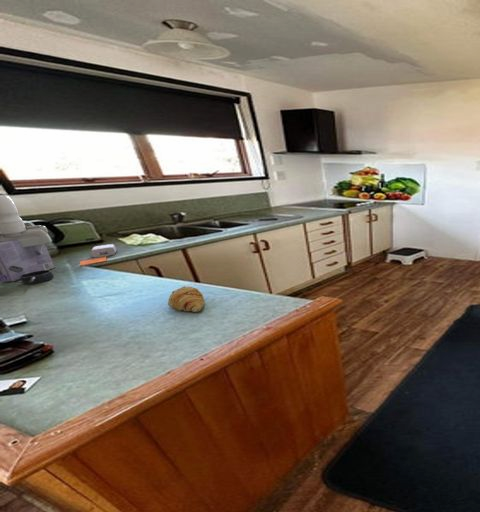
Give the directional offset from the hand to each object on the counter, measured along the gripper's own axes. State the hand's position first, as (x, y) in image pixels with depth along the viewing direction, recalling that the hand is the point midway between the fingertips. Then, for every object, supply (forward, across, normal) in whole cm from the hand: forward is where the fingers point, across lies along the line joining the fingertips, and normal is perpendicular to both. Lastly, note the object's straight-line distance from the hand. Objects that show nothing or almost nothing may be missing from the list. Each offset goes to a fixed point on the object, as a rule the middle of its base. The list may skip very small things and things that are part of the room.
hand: (24, 256), depth 128 cm
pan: (+9, -4, +15) cm, 18 cm away
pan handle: (+7, -4, +23) cm, 25 cm away
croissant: (+10, -48, +93) cm, 105 cm away
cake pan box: (+9, 0, 0) cm, 9 cm away
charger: (+10, -25, -20) cm, 33 cm away
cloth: (+9, -20, -4) cm, 23 cm away
